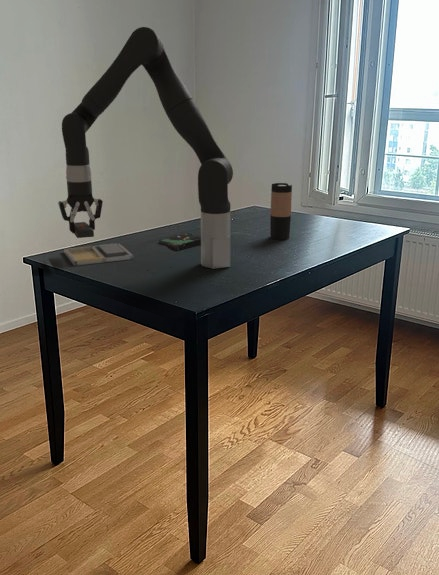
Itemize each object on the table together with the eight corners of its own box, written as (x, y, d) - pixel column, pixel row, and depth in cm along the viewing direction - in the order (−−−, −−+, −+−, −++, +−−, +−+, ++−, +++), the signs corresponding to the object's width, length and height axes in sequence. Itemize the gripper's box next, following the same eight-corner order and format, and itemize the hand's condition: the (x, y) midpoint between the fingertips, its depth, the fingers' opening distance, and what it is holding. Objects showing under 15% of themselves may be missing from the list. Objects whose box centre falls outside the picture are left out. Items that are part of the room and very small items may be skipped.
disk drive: (187, 240, 219) (158, 247, 208) (187, 232, 218) (158, 239, 207) (207, 244, 212) (178, 252, 202) (207, 237, 211) (178, 244, 201)
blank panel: (125, 257, 189) (125, 251, 189) (107, 259, 187) (106, 253, 186) (115, 248, 200) (115, 243, 199) (98, 250, 197) (97, 245, 197)
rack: (133, 261, 188) (133, 254, 188) (74, 268, 181) (73, 261, 180) (119, 249, 203) (119, 242, 202) (64, 255, 195) (63, 248, 195)
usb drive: (77, 238, 182) (76, 229, 181) (71, 229, 192) (70, 221, 191) (94, 236, 184) (93, 228, 183) (87, 228, 194) (86, 220, 193)
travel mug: (268, 239, 217) (269, 185, 211) (271, 234, 225) (273, 182, 218) (288, 240, 216) (290, 186, 209) (291, 235, 223) (293, 183, 216)
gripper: (57, 182, 176) (62, 236, 181) (104, 179, 181) (107, 232, 187) (53, 178, 182) (57, 231, 188) (99, 176, 188) (101, 227, 193)
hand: (82, 232), depth 187 cm, fingers closed on usb drive, 5 cm apart
